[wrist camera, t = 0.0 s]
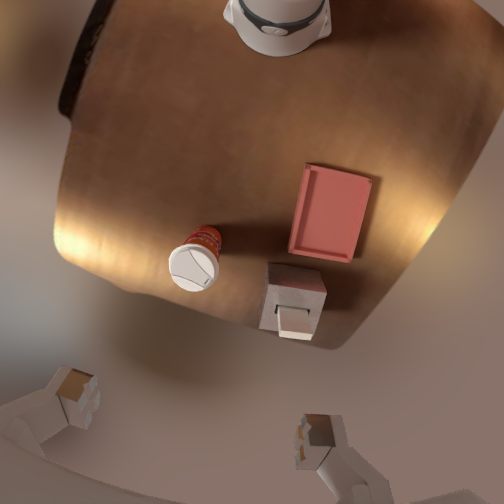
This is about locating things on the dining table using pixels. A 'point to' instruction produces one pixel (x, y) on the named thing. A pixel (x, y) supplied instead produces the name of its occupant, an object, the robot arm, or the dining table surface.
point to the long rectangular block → (294, 322)
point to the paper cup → (197, 260)
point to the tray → (329, 213)
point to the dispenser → (290, 293)
